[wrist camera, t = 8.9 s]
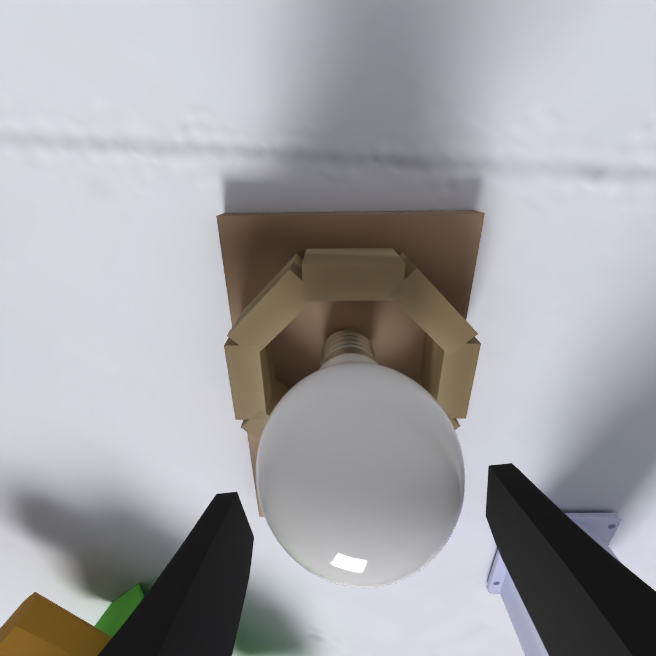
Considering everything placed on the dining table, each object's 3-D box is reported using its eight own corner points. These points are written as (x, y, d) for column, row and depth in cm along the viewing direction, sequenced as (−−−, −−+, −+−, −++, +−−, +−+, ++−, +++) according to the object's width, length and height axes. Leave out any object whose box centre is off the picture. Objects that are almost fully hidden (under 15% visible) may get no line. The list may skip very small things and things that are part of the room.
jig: (427, 500, 24) (445, 561, 21) (262, 501, 25) (249, 561, 21) (474, 210, 16) (518, 221, 12) (224, 213, 16) (191, 225, 12)
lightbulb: (326, 413, 20) (322, 661, 10) (263, 328, 17) (173, 537, 7) (426, 365, 18) (543, 596, 8) (371, 266, 16) (440, 420, 6)
